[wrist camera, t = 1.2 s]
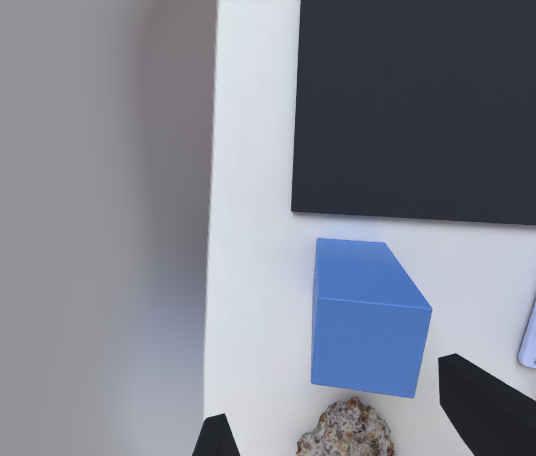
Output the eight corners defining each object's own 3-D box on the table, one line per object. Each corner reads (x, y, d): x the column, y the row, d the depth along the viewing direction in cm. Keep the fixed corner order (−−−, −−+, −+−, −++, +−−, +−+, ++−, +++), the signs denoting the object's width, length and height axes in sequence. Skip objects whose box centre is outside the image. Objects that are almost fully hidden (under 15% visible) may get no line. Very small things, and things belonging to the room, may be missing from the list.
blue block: (385, 242, 19) (433, 308, 11) (376, 302, 20) (414, 399, 12) (316, 237, 19) (317, 297, 12) (312, 296, 20) (310, 384, 13)
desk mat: (694, -266, 11) (708, -280, 11) (546, 224, 17) (551, 226, 16) (310, -206, 13) (310, -216, 13) (291, 210, 19) (290, 211, 19)
